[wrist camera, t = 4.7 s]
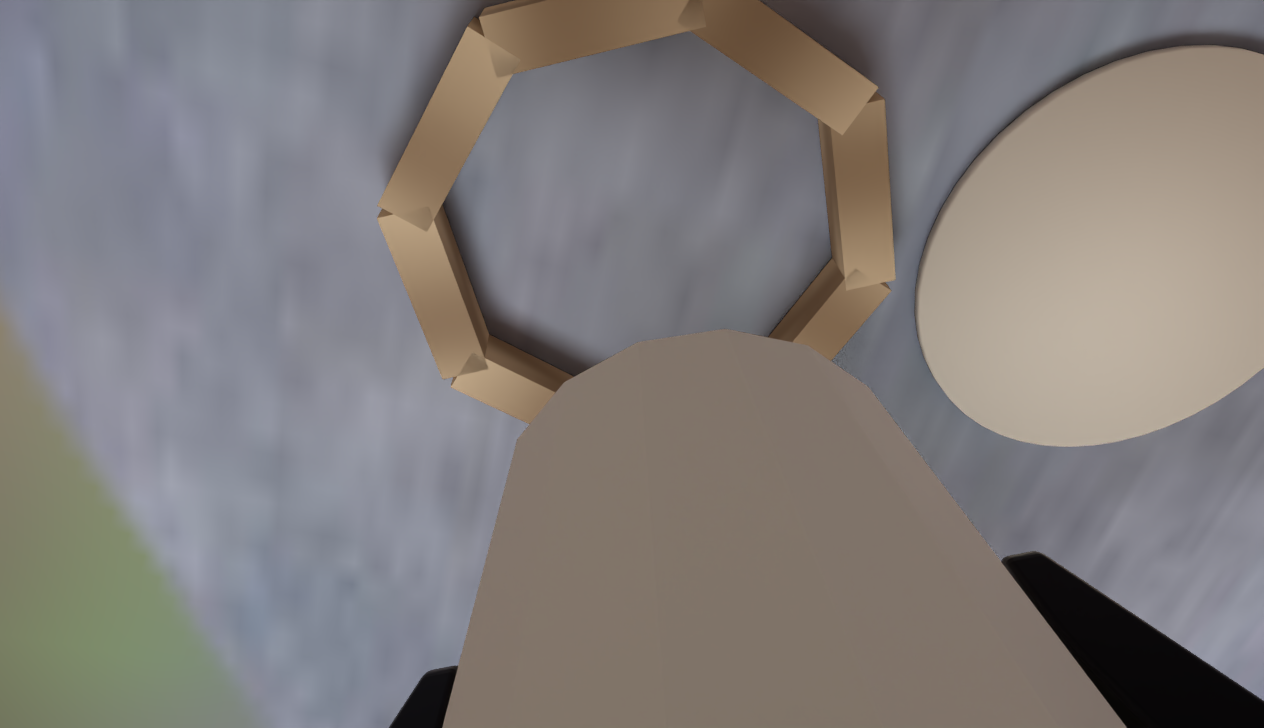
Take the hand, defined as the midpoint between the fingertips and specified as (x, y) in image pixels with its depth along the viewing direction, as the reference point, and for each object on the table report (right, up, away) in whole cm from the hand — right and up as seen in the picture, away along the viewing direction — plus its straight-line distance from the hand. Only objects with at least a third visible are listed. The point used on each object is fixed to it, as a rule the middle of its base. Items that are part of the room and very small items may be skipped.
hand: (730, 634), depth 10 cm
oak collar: (-1, +6, +10) cm, 12 cm away
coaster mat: (+12, +6, +12) cm, 18 cm away
